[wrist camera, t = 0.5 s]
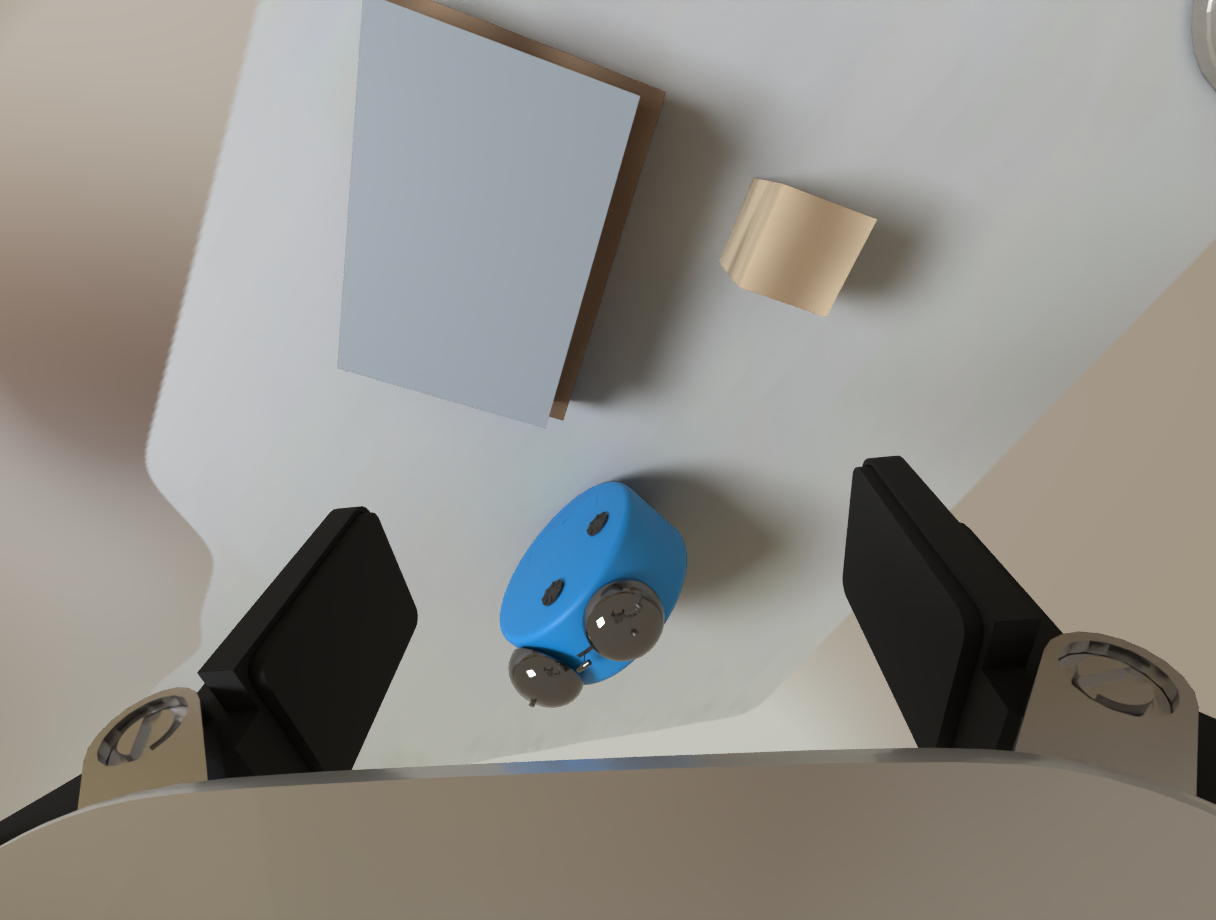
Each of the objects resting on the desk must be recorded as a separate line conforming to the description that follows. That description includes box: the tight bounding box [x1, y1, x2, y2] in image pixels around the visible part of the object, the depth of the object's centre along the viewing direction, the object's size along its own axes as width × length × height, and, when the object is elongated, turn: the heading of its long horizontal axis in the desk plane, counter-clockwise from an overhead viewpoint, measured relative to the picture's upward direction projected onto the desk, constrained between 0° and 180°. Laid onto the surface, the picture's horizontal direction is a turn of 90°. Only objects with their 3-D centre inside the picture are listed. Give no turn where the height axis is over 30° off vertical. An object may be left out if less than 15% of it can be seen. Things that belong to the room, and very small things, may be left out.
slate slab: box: [337, 0, 640, 428], centre depth 29 cm, size 12×17×4 cm
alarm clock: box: [500, 482, 687, 708], centre depth 38 cm, size 13×6×15 cm, turn 135°
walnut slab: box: [386, 0, 666, 420], centre depth 32 cm, size 14×19×4 cm
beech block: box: [719, 178, 877, 317], centre depth 30 cm, size 5×5×7 cm
